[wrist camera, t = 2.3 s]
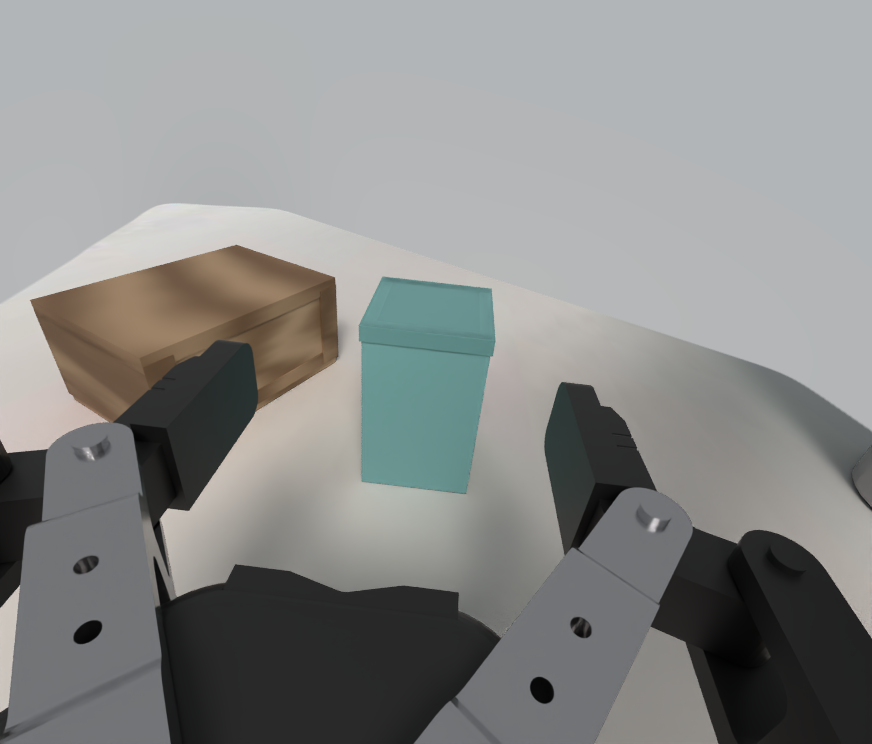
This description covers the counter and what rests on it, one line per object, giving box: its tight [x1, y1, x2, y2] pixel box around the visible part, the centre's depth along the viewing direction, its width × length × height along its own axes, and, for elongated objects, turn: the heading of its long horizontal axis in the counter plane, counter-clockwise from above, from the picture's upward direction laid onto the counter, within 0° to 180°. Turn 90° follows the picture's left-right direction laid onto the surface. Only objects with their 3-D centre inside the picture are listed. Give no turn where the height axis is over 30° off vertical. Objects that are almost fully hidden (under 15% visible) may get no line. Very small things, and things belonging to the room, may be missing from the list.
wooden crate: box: [30, 245, 338, 423], centre depth 31 cm, size 14×10×7 cm
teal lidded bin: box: [359, 277, 495, 494], centre depth 26 cm, size 6×6×10 cm
